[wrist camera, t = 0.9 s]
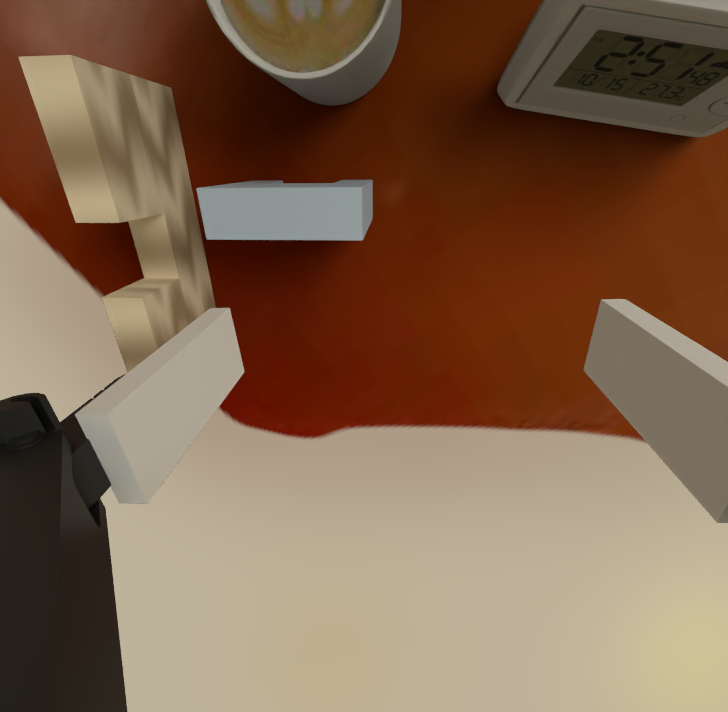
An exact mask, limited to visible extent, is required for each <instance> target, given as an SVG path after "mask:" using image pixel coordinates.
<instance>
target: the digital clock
mask: <svg viewBox="0 0 728 712" xmlns="http://www.w3.org/2000/svg"><path fill="white" fill-rule="evenodd" d="M497 93H498V94H499V96H500V97H501V99H502V101H503V102H504V103H505V105H507V106H508V107H511V108H516V109H522V110H527V111H533V112H539V113H545V114H551V115H557V116H563V117H570V118H576V119H582V120H588V121H594V122H601V123H607V124H613V125H619V126H625V127H632V128H638V129H644V130H650V131H656V132H663V133H669V134H675V135H683V136H690V137H705V136H709V135H711V134H714V133H716V132H718V131H721V130H723V129H725V128H727V127H728V0H542V2H541V4H540V6H539V8H538V9H537V11H536V13H535V15H534V17H533V19H532V20H531V22H530V24H529V26H528V28H527V30H526V31H525V33H524V35H523V37H522V39H521V40H520V42H519V44H518V46H517V48H516V50H515V51H514V53H513V55H512V57H511V59H510V61H509V62H508V64H507V66H506V68H505V70H504V72H503V74H502V76H501V78H500V80H499V83H498V87H497Z"/></svg>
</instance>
